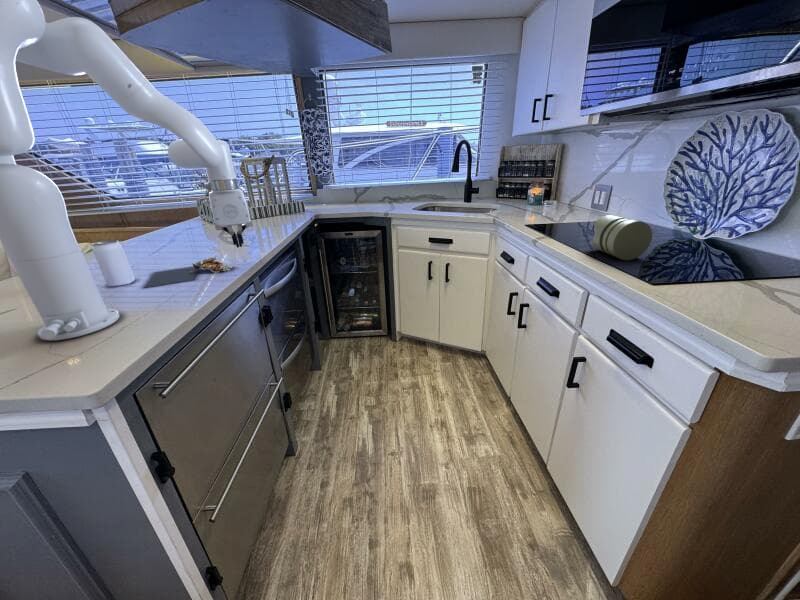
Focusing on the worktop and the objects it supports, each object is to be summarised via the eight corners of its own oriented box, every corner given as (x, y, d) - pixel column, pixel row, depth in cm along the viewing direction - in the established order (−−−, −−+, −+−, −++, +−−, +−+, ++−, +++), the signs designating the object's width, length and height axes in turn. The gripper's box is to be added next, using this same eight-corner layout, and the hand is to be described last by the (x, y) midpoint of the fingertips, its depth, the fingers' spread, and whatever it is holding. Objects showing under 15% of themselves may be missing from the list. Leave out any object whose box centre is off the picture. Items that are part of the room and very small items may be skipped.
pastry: (228, 272, 99) (225, 261, 97) (188, 274, 99) (185, 263, 97) (237, 265, 105) (235, 255, 104) (201, 267, 105) (197, 256, 104)
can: (119, 287, 90) (102, 245, 85) (101, 286, 91) (83, 245, 86) (141, 279, 96) (125, 240, 91) (123, 279, 97) (107, 239, 92)
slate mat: (194, 280, 93) (194, 279, 93) (144, 288, 89) (144, 287, 89) (198, 266, 107) (197, 266, 107) (154, 272, 102) (154, 272, 102)
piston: (618, 249, 106) (626, 214, 101) (646, 259, 95) (656, 220, 90) (585, 250, 105) (592, 215, 101) (609, 261, 94) (618, 222, 90)
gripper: (195, 189, 90) (213, 252, 97) (252, 185, 96) (265, 245, 103) (196, 187, 96) (213, 247, 103) (250, 184, 102) (262, 241, 109)
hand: (239, 246), depth 103 cm, fingers closed
